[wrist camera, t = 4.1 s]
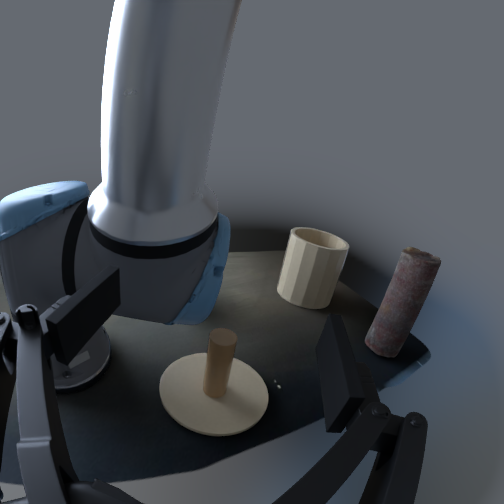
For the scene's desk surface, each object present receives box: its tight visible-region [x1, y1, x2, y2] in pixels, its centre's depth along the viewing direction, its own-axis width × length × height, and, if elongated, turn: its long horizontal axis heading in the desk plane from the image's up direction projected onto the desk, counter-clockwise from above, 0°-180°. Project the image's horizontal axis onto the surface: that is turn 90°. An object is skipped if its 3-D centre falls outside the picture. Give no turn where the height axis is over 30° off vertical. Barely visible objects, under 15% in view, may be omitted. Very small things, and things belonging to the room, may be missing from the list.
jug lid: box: [159, 328, 268, 436], centre depth 31 cm, size 14×14×10 cm
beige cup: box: [277, 227, 349, 309], centre depth 61 cm, size 13×13×14 cm
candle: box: [365, 247, 441, 358], centre depth 44 cm, size 8×7×20 cm
